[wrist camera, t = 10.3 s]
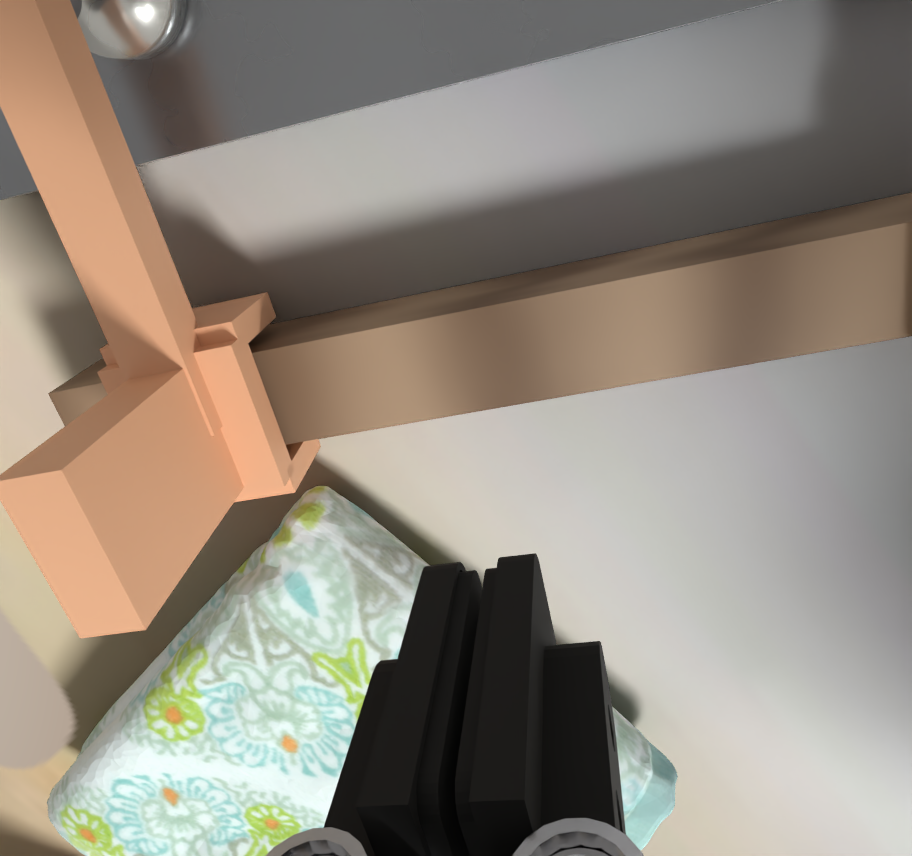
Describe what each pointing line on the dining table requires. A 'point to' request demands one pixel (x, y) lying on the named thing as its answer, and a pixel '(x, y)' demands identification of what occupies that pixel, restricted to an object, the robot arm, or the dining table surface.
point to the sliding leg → (128, 359)
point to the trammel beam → (585, 324)
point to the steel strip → (321, 58)
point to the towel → (272, 703)
